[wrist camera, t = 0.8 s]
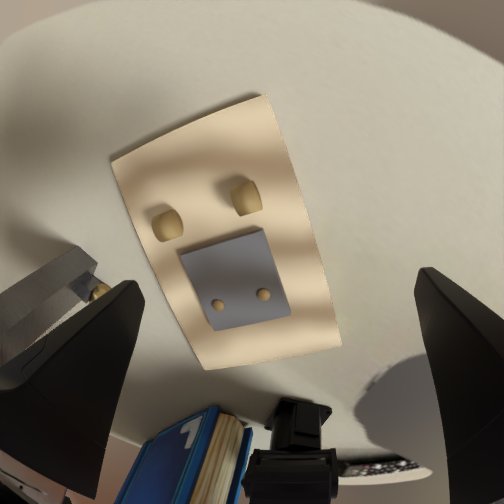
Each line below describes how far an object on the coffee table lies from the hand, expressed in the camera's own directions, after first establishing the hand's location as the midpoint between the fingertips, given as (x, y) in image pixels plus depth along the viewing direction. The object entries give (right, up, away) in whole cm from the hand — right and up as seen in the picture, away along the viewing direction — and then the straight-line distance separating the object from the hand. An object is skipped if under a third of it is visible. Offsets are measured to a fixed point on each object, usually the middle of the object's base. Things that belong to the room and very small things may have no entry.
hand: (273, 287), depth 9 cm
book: (-10, -26, +27) cm, 39 cm away
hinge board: (-2, +1, +16) cm, 16 cm away
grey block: (-18, -2, +20) cm, 27 cm away
